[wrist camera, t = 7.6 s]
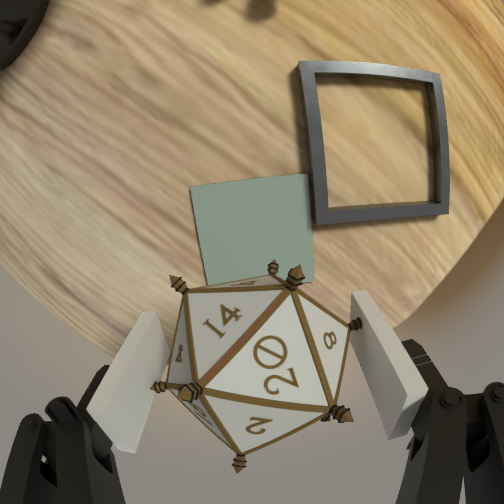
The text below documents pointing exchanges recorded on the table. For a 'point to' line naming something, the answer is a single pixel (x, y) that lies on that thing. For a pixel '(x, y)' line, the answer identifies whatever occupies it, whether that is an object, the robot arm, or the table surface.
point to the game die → (257, 359)
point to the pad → (254, 227)
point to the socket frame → (316, 146)
